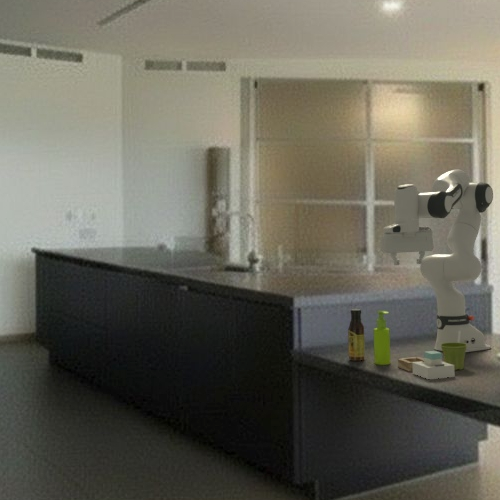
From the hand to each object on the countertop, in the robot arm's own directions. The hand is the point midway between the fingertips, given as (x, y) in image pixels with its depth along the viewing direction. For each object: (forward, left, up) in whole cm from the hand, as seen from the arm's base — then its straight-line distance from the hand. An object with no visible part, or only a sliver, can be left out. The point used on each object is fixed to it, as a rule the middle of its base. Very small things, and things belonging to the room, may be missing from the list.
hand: (408, 264), depth 284 cm
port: (+4, +24, -37) cm, 44 cm away
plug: (+4, +24, -37) cm, 44 cm away
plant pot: (-8, +17, -37) cm, 42 cm away
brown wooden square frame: (+4, +10, -37) cm, 39 cm away
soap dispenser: (+10, -3, -37) cm, 39 cm away
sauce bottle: (+16, -14, -37) cm, 43 cm away
